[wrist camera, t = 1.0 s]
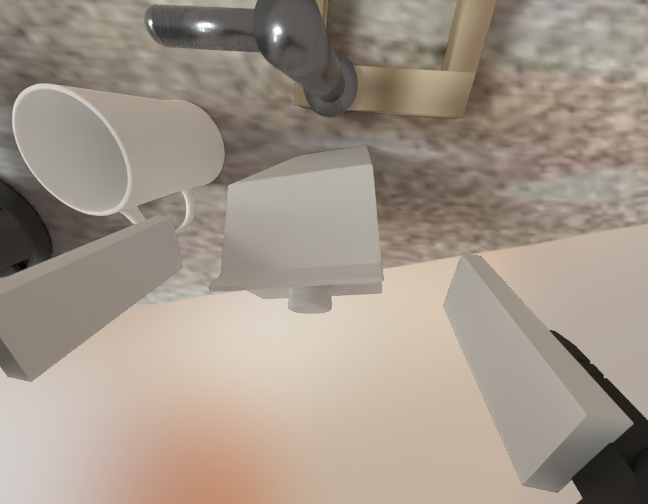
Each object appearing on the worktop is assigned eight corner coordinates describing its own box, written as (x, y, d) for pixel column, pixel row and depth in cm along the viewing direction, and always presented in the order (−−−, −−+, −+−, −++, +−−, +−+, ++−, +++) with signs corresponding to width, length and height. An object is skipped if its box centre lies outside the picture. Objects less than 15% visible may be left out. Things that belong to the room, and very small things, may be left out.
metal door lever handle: (274, 113, 24) (151, 91, 10) (274, 57, 22) (118, -70, 8) (354, 119, 24) (343, 106, 9) (361, 62, 22) (359, -66, 7)
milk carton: (297, 155, 26) (173, 206, 9) (366, 144, 24) (377, 179, 7) (309, 220, 29) (234, 351, 12) (372, 213, 27) (388, 351, 10)
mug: (244, 208, 29) (176, 254, 18) (181, 216, 31) (85, 263, 20) (209, 91, 24) (88, 62, 14) (135, 108, 26) (-23, 94, 15)
